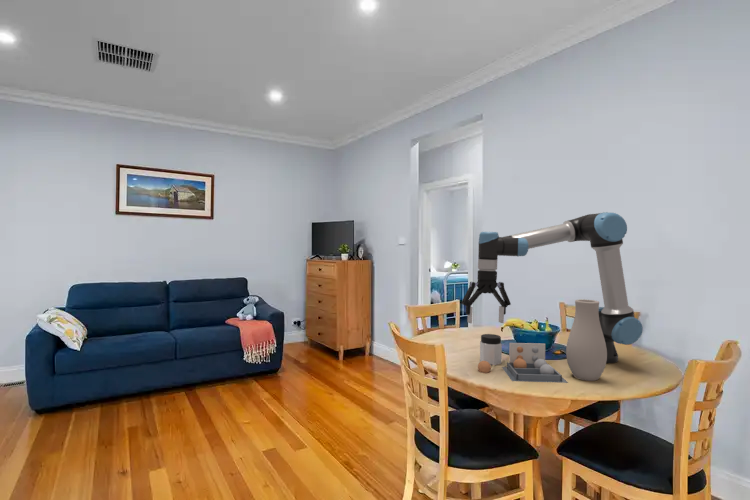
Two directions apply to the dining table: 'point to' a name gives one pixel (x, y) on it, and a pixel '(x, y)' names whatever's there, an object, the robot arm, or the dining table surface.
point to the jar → (491, 349)
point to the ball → (484, 367)
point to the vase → (586, 342)
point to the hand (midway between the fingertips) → (485, 322)
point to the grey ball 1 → (539, 363)
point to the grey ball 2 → (546, 370)
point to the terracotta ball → (519, 363)
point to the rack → (529, 364)
